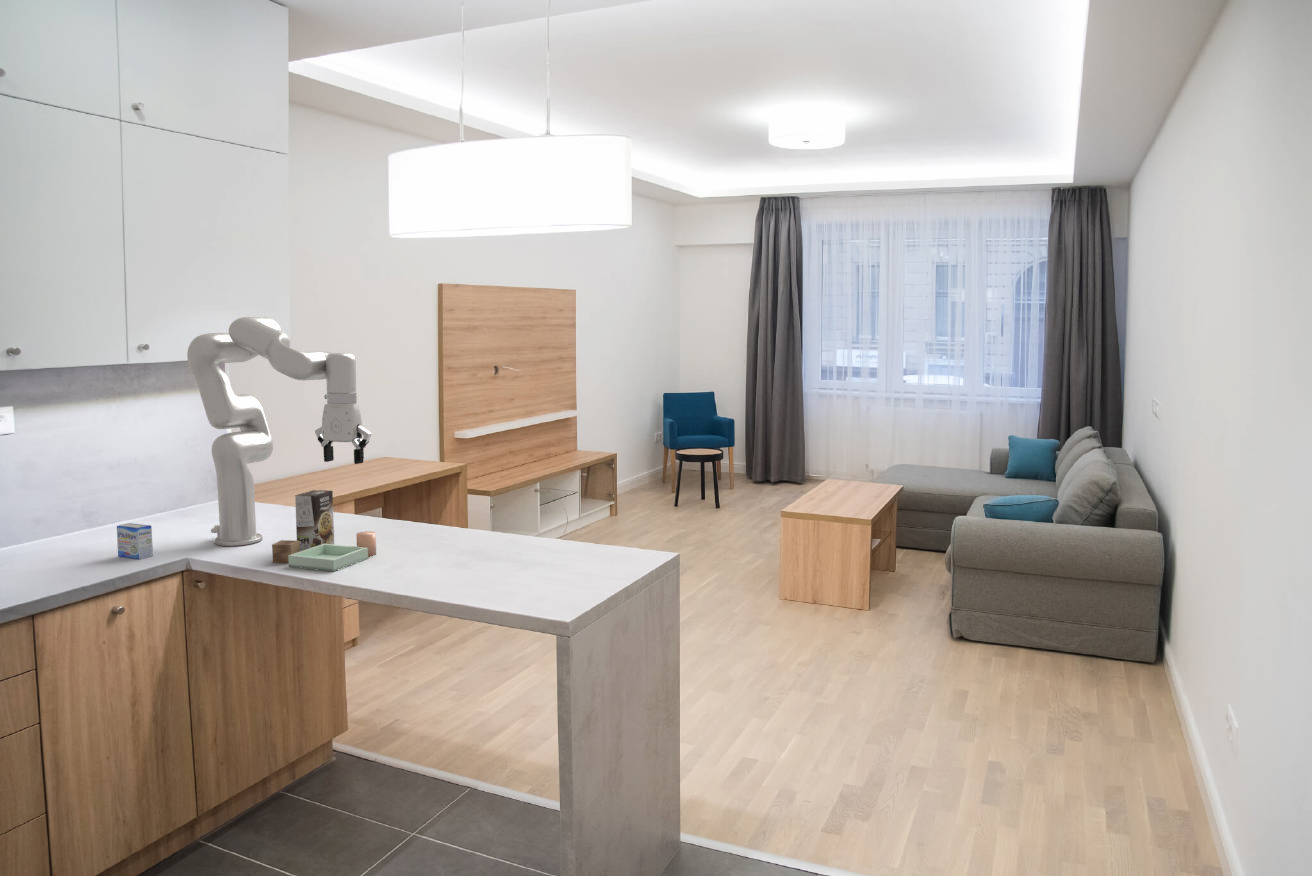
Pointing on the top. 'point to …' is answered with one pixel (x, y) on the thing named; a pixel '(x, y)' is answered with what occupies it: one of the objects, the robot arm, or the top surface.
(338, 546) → the tray
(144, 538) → the medicine box
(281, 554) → the walnut block
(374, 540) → the light brown rounded block
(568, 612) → the top surface
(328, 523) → the coffee box
